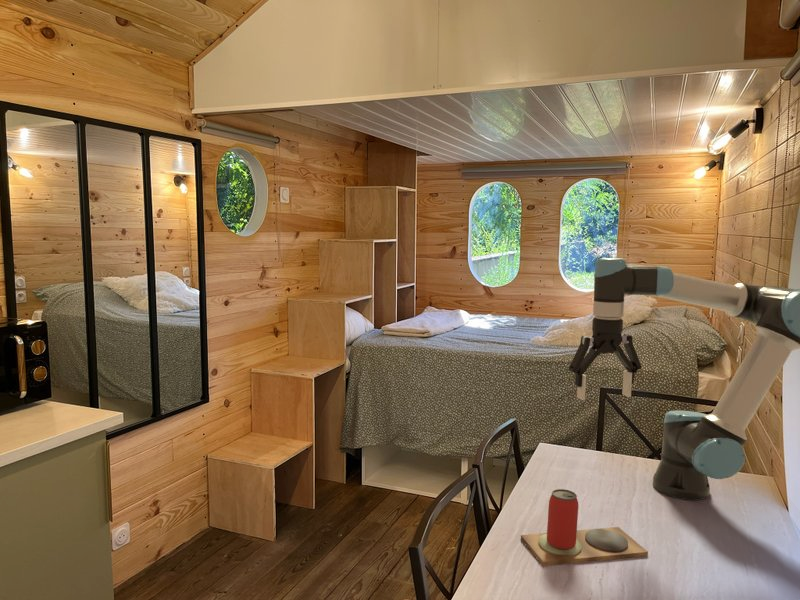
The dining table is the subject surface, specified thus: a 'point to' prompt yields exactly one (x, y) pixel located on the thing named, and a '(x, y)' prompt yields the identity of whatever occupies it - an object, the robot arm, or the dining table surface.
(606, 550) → the seat board
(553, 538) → the beer can
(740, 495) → the dining table surface
